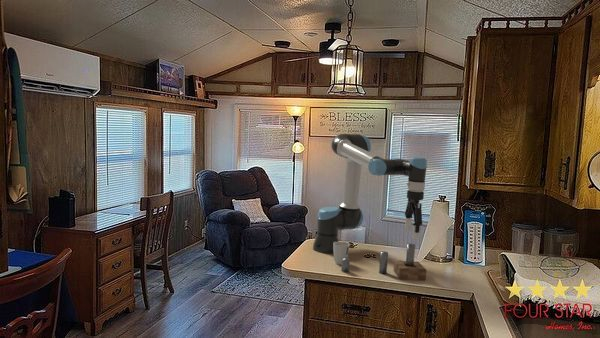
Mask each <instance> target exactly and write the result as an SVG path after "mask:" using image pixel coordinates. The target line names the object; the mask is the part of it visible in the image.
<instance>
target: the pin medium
mask: <svg viewBox="0 0 600 338" xmlns="http://www.w3.org/2000/svg"><path fill="white" fill-rule="evenodd" d="M379 253H380V254H379V255H380V256H379V267H378V269H379V270H378V272H379V273H378V274H381V275H387V273H388V272H387V271H388V262H389V261H388V260H389V252H388V251H380V252H379Z"/></svg>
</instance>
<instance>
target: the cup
mask: <svg viewBox="0 0 600 338" xmlns="http://www.w3.org/2000/svg"><path fill="white" fill-rule="evenodd" d="M333 252H334V253H333V260H334V264H336V265H341V266H342V258H349V252H350V243H349V242H346V241H339V242H334V243H333Z"/></svg>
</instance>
